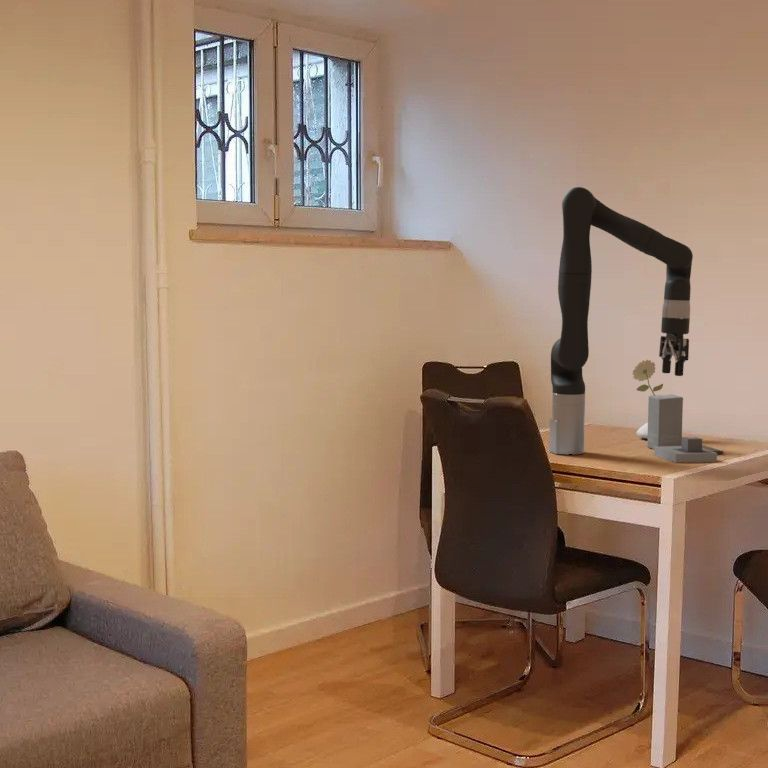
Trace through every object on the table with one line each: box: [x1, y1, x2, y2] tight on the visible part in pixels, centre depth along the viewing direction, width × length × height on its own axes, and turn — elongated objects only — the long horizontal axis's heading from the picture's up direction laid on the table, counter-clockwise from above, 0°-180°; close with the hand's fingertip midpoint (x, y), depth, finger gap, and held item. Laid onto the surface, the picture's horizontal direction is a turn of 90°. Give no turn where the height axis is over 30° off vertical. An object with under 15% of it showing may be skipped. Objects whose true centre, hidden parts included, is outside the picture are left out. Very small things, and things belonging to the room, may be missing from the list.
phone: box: [702, 444, 724, 455], centre depth 325 cm, size 12×6×1 cm, turn 10°
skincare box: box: [647, 394, 684, 450], centre depth 329 cm, size 8×7×16 cm
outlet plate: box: [653, 446, 718, 464], centre depth 312 cm, size 12×14×2 cm
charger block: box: [681, 436, 703, 452], centre depth 310 cm, size 4×4×6 cm
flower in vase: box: [632, 359, 664, 440], centre depth 349 cm, size 13×11×25 cm
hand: (672, 374), depth 312 cm, fingers open, 8 cm apart
